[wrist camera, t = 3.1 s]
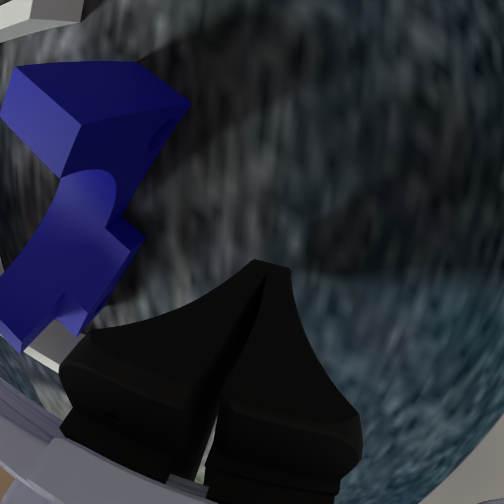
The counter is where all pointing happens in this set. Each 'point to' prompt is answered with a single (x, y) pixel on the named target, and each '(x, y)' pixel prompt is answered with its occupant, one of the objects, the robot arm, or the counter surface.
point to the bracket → (3, 29)
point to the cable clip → (81, 185)
